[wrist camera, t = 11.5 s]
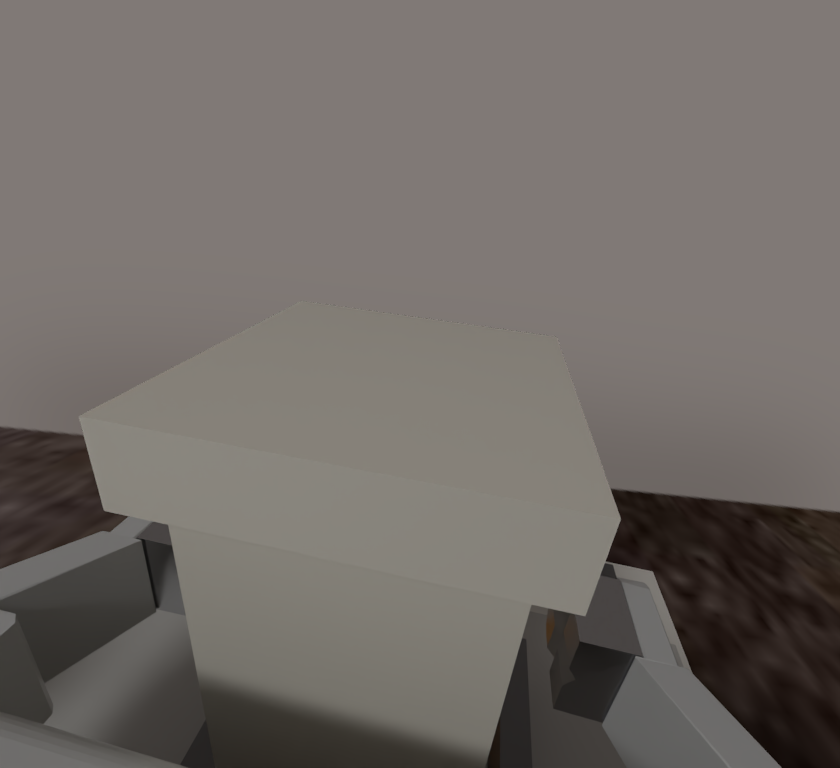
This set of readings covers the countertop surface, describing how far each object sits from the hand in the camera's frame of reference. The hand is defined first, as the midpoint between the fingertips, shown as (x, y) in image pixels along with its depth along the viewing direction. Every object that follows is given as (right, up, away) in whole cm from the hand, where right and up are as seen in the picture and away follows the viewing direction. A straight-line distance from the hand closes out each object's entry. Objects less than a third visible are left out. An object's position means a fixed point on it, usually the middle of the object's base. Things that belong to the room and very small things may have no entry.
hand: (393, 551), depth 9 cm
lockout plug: (-1, -7, +2) cm, 8 cm away
